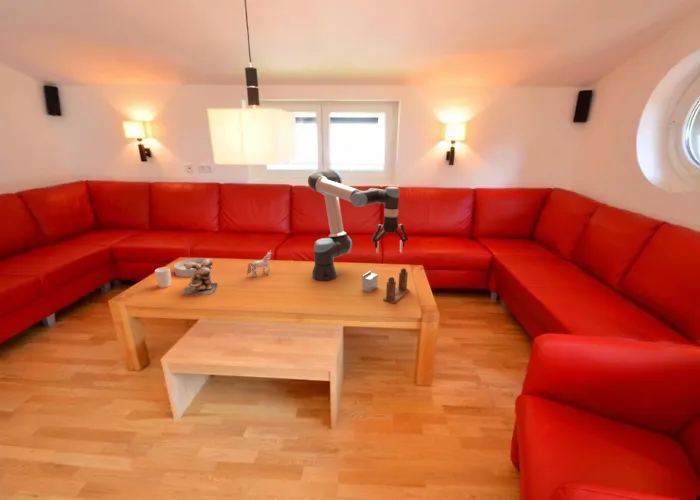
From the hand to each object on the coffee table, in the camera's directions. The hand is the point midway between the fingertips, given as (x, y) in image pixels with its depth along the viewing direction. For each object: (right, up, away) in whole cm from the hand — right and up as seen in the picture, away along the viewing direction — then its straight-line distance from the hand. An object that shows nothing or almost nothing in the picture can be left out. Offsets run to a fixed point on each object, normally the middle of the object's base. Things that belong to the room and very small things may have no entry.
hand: (389, 252), depth 203 cm
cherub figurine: (-108, -21, +3) cm, 110 cm away
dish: (-123, -12, +30) cm, 128 cm away
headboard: (+4, -24, -4) cm, 24 cm away
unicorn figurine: (-79, -14, +26) cm, 84 cm away
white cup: (-130, -19, +8) cm, 132 cm away
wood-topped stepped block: (-11, -21, +5) cm, 24 cm away
